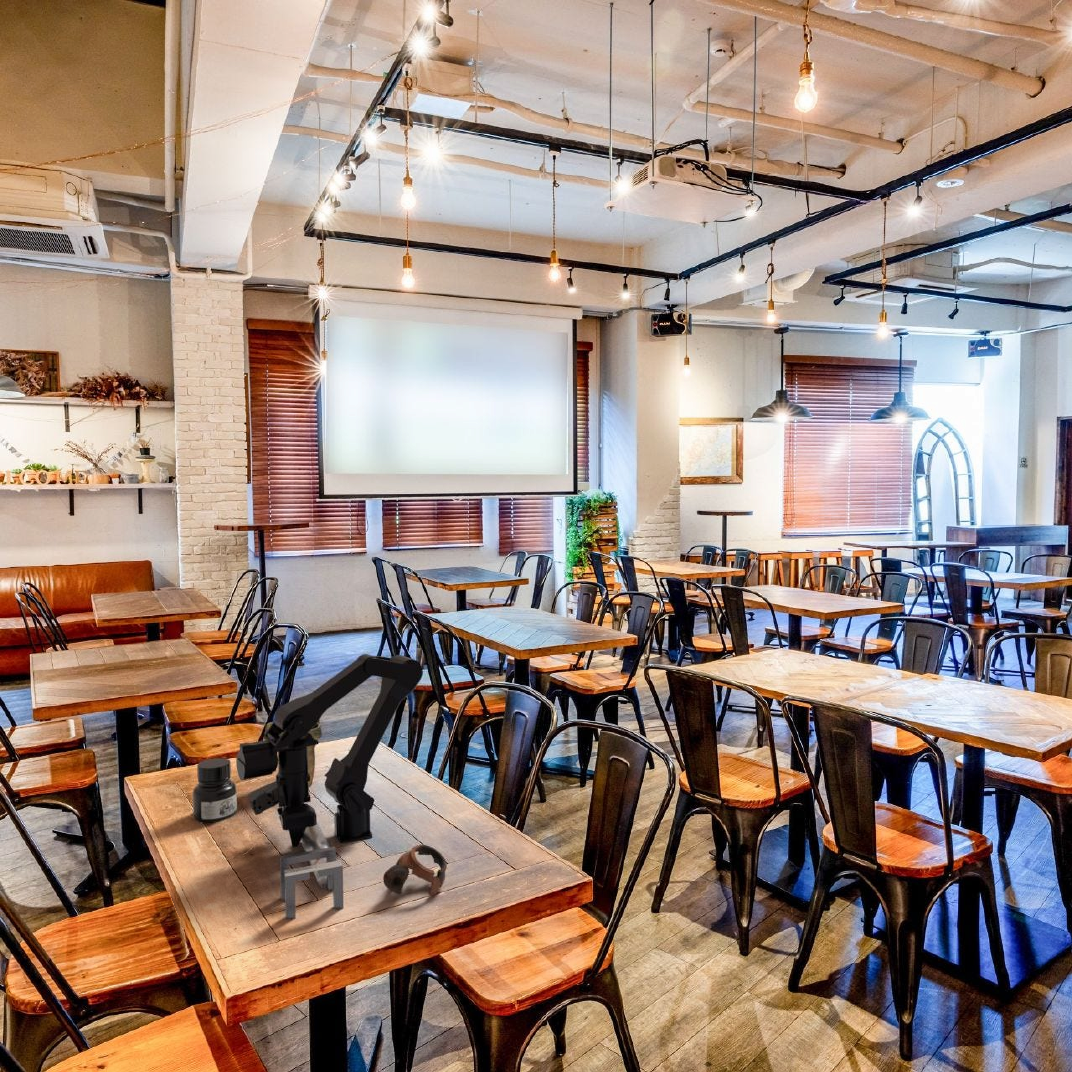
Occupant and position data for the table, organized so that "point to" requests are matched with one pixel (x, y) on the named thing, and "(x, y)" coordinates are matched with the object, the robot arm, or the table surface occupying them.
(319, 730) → the pot
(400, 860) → the brown headphones
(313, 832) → the air tube
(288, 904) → the arch block
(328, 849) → the arch block
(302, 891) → the table surface
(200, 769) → the ink bottle
